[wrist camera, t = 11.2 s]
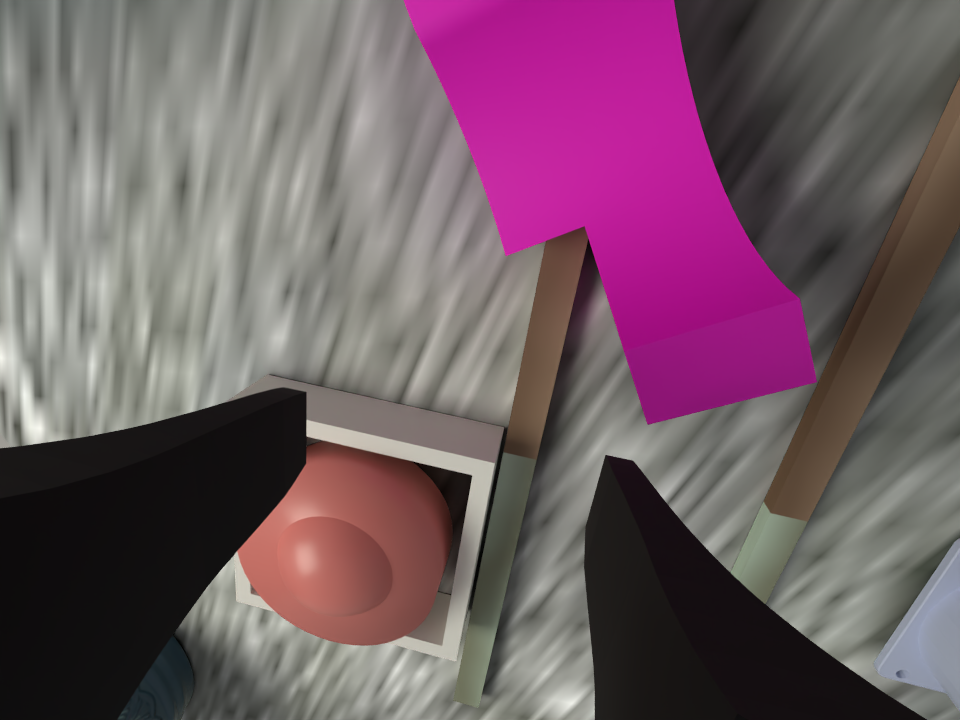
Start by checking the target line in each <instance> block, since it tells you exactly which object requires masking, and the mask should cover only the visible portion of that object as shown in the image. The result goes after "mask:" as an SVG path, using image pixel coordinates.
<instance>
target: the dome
mask: <svg viewBox="0 0 960 720" xmlns="http://www.w3.org/2000/svg"><path fill="white" fill-rule="evenodd" d="M452 540H453V526H452V520H451V515H450V512H449V509H448V506H447V504H446V501H445V499H444V498H443V496H442V494H441V492H440V491H439V489H438V488H437V486H436V485H435V484H434V482H433V481H432V480H431V479H430V478H429V477H428V475H427V474H426V473H425V472H424V471H423V470H421V469H420V468H419V467H418V466H417V465H416V464H415V463H413V462H412V461H409V460H405V459H401V458H396V457H392V456H388V455H383V454H379V453H375V452H371V451H366V450H362V449H358V448H354V447H349V446H345V445H341V444H337V443H332V442H328V441H320V442H317V443H314V444H312V445H309V446H307V447H306V465H305V466H304V468H303V469H302V471H301V473H300V474H299V476H298V477H297V479H296V481H295V482H294V484H293V485H292V487H291V488H290V490H289V491H288V493H287V494H286V495H285V497H284V498H283V499H282V500H281V502H280V503H279V504H278V505H277V506H276V508H275V509H274V510H273V511H272V512H271V513H270V514H269V516H268V517H267V518H266V519H265V520H264V521H263V523H262V524H261V525H260V526H259V527H258V528H257V529H256V531H255V532H254V533H253V534H252V535H251V536H250V537H249V538H248V540H247V541H246V542H245V543H244V544H243V545H242V546H241V548H240V549H239V550H238V551H237V552H238V556H239V559H240V563H241V565H242V568H243V570H244V573H245V575H246V576H247V578H248V580H249V582H250V583H251V585H252V586H253V588H254V589H255V590H256V592H257V593H258V594H259V596H260V597H261V598H262V599H263V600H264V601H265V602H266V603H267V604H268V605H269V606H270V607H271V608H272V609H273V610H274V611H275V612H277V613H278V614H279V615H280V616H282V617H283V618H284V619H286V620H287V621H289V622H290V623H292V624H293V625H295V626H297V627H298V628H300V629H302V630H304V631H306V632H308V633H310V634H313V635H315V636H317V637H320V638H323V639H326V640H329V641H333V642H338V643H342V644H350V645H378V644H383V643H388V642H391V641H394V640H397V639H400V638H402V637H404V636H406V635H408V634H409V633H411V632H412V631H413V630H415V629H416V628H417V627H418V626H419V625H420V624H421V623H422V622H423V621H424V620H425V619H426V617H427V616H428V614H429V613H430V611H431V608H432V606H433V604H434V601H435V598H436V595H437V591H438V588H439V585H440V582H441V579H442V576H443V573H444V569H445V566H446V563H447V560H448V557H449V554H450V550H451V546H452Z"/></svg>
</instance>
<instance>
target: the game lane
mask: <svg viewBox="0 0 960 720" xmlns="http://www.w3.org/2000/svg"><path fill="white" fill-rule="evenodd" d="M959 227H960V77H959V80H958V82H957V84H956V86H955V88H954V90H953V93H952V95H951V97H950V99H949V101H948V103H947V106H946V108H945V110H944V112H943V114H942V116H941V119H940V121H939V123H938V125H937V127H936V129H935V132H934V134H933V136H932V138H931V140H930V142H929V145H928V147H927V149H926V151H925V153H924V155H923V158H922V160H921V162H920V164H919V166H918V168H917V171H916V173H915V175H914V177H913V179H912V181H911V183H910V186H909V188H908V190H907V192H906V194H905V196H904V199H903V201H902V203H901V205H900V207H899V209H898V212H897V214H896V216H895V218H894V220H893V222H892V225H891V227H890V229H889V231H888V233H887V235H886V238H885V240H884V242H883V244H882V246H881V248H880V251H879V253H878V255H877V257H876V259H875V261H874V264H873V266H872V268H871V270H870V272H869V274H868V277H867V279H866V281H865V283H864V285H863V287H862V290H861V292H860V294H859V296H858V298H857V300H856V303H855V305H854V307H853V309H852V311H851V313H850V316H849V318H848V320H847V322H846V324H845V326H844V329H843V331H842V333H841V335H840V337H839V339H838V342H837V344H836V346H835V348H834V350H833V352H832V354H831V357H830V359H829V361H828V363H827V365H826V367H825V370H824V372H823V374H822V376H821V378H820V380H819V383H818V385H817V387H816V389H815V391H814V393H813V396H812V398H811V400H810V402H809V404H808V406H807V409H806V411H805V413H804V415H803V417H802V419H801V422H800V424H799V426H798V428H797V430H796V432H795V435H794V437H793V439H792V441H791V443H790V445H789V448H788V450H787V452H786V454H785V456H784V458H783V461H782V463H781V465H780V467H779V469H778V471H777V474H776V476H775V478H774V480H773V482H772V484H771V487H770V489H769V491H768V493H767V495H766V497H765V500H764V502H763V504H762V506H761V508H760V510H759V513H758V515H757V517H756V519H755V521H754V523H753V526H752V528H751V530H750V532H749V534H748V536H747V538H746V541H745V543H744V545H743V547H742V549H741V551H740V554H739V556H738V558H737V560H736V562H735V564H734V567H733V569H732V571H731V574H732V575H733V576H734V577H736V578H737V579H738V580H739V581H740V582H741V583H742V584H743V585H744V586H745V587H746V588H747V589H748V590H750V591H751V592H752V593H753V594H754V595H755V596H756V597H757V598H759V599H760V600H761V601H762V602H763V603H764V604H766V602H767V600H768V598H769V596H770V594H771V592H772V590H773V588H774V586H775V584H776V582H777V580H778V579H779V577H780V575H781V573H782V571H783V569H784V567H785V565H786V563H787V561H788V559H789V557H790V555H791V553H792V551H793V549H794V547H795V545H796V544H797V542H798V540H799V538H800V536H801V534H802V532H803V530H804V528H805V526H806V524H807V522H808V520H809V518H810V516H811V514H812V512H813V511H814V509H815V507H816V505H817V503H818V501H819V499H820V497H821V495H822V493H823V491H824V489H825V487H826V485H827V483H828V481H829V479H830V477H831V476H832V474H833V472H834V470H835V468H836V466H837V464H838V462H839V460H840V458H841V456H842V454H843V452H844V450H845V448H846V446H847V444H848V442H849V441H850V439H851V437H852V435H853V433H854V431H855V429H856V427H857V425H858V423H859V421H860V419H861V417H862V415H863V413H864V411H865V409H866V407H867V406H868V404H869V402H870V400H871V398H872V396H873V394H874V392H875V390H876V388H877V386H878V384H879V382H880V380H881V378H882V376H883V374H884V373H885V371H886V369H887V367H888V365H889V363H890V361H891V359H892V357H893V355H894V353H895V351H896V349H897V347H898V345H899V343H900V341H901V339H902V338H903V336H904V334H905V332H906V330H907V328H908V326H909V324H910V322H911V320H912V318H913V316H914V314H915V312H916V310H917V308H918V306H919V304H920V303H921V301H922V299H923V297H924V295H925V293H926V291H927V289H928V287H929V285H930V283H931V281H932V279H933V277H934V275H935V273H936V271H937V269H938V268H939V266H940V264H941V262H942V260H943V258H944V256H945V254H946V252H947V250H948V248H949V246H950V244H951V242H952V240H953V238H954V236H955V235H956V233H957V231H958V229H959ZM587 242H588V235H587V232H586V229H585V226H584V227H581V228H578V229H576V230H573V231H570V232H568V233H565V234H563V235H560V236H557V237H555V238H552V239H549V240H547V241H546V244H545V249H544V254H543V259H542V263H541V268H540V273H539V278H538V283H537V288H536V293H535V298H534V303H533V308H532V313H531V318H530V323H529V328H528V333H527V338H526V343H525V348H524V353H523V358H522V363H521V368H520V372H519V377H518V382H517V387H516V392H515V397H514V402H513V407H512V412H511V417H510V422H509V427H508V432H507V437H506V442H505V447H504V452H503V457H502V462H501V467H500V472H499V477H498V481H497V486H496V491H495V496H494V501H493V506H492V511H491V516H490V521H489V526H488V531H487V536H486V541H485V546H484V551H483V556H482V561H481V566H480V571H479V576H478V581H477V586H476V591H475V595H474V600H473V605H472V610H471V615H470V620H469V625H468V630H467V635H466V640H465V645H464V650H463V655H462V660H461V665H460V670H459V675H458V680H457V685H456V690H455V695H454V700H453V701H456V702H460V703H463V704H467V705H471V706H474V707H478V708H479V704H480V700H481V695H482V691H483V687H484V683H485V678H486V674H487V670H488V665H489V661H490V657H491V653H492V648H493V644H494V640H495V636H496V631H497V627H498V623H499V618H500V614H501V610H502V606H503V601H504V597H505V593H506V588H507V584H508V580H509V576H510V571H511V567H512V563H513V559H514V554H515V550H516V546H517V541H518V537H519V533H520V529H521V524H522V520H523V516H524V512H525V507H526V503H527V499H528V494H529V490H530V486H531V482H532V477H533V473H534V469H535V465H536V460H537V456H538V452H539V447H540V443H541V439H542V435H543V430H544V426H545V422H546V418H547V413H548V409H549V405H550V400H551V396H552V392H553V388H554V383H555V379H556V375H557V371H558V366H559V362H560V358H561V353H562V349H563V345H564V341H565V336H566V332H567V328H568V324H569V319H570V315H571V311H572V306H573V302H574V298H575V294H576V289H577V285H578V281H579V276H580V272H581V268H582V264H583V259H584V255H585V251H586V247H587Z"/></svg>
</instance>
